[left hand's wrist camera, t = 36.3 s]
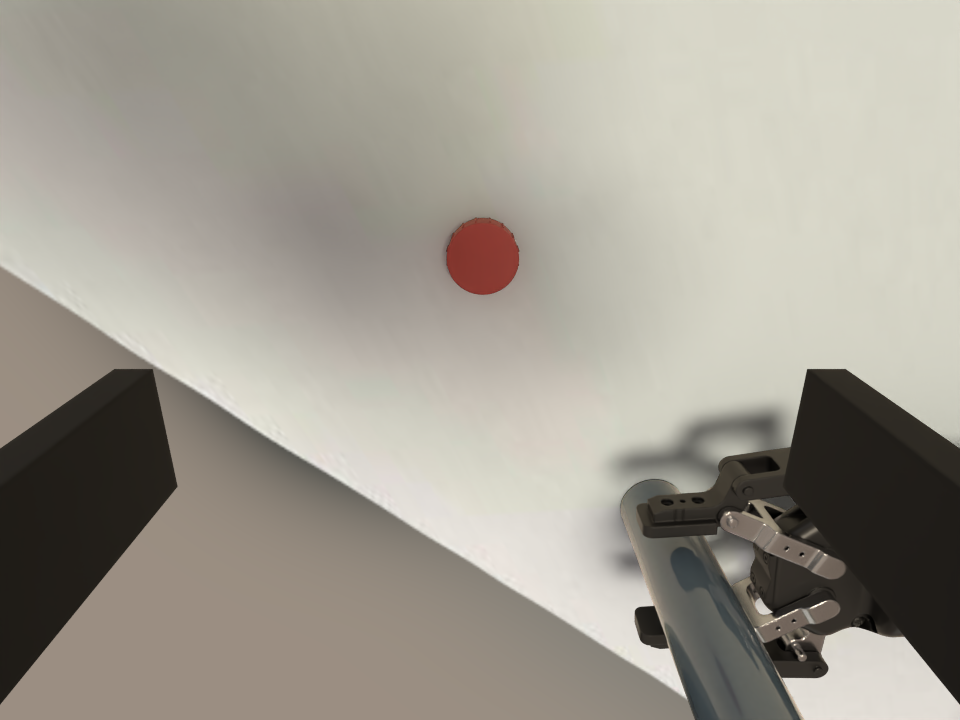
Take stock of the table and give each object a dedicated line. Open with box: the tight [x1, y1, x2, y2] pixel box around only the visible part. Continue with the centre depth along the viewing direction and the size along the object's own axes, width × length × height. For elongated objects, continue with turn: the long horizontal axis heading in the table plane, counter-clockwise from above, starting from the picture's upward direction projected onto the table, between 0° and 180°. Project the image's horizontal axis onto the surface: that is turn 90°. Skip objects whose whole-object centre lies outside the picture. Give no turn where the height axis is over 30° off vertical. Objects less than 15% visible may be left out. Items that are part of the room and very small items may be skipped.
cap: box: [446, 218, 519, 295], centre depth 33 cm, size 4×4×2 cm
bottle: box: [620, 480, 804, 720], centre depth 29 cm, size 4×4×23 cm
